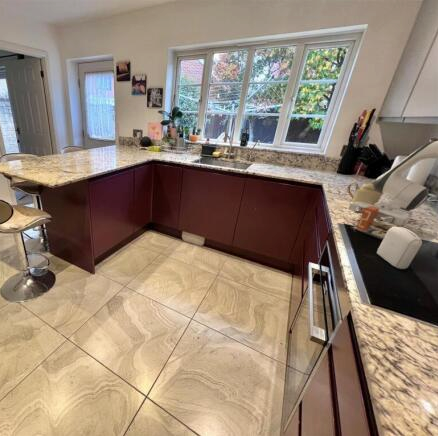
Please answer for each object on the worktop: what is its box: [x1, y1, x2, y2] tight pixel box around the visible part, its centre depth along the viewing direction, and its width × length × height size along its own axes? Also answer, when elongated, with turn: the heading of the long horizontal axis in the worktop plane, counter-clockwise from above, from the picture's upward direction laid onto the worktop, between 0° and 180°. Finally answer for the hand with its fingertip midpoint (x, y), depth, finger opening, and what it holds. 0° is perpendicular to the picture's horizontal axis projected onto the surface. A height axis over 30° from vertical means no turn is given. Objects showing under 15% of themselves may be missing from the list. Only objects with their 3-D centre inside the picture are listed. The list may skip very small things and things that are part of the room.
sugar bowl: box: [347, 179, 383, 205], centre depth 134 cm, size 15×11×15 cm
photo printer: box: [376, 226, 423, 270], centre depth 80 cm, size 10×4×12 cm, turn 169°
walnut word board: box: [356, 219, 393, 232], centre depth 106 cm, size 18×8×2 cm, turn 26°
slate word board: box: [350, 224, 387, 241], centre depth 99 cm, size 18×8×2 cm, turn 26°
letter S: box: [355, 206, 380, 231], centre depth 102 cm, size 3×5×10 cm, turn 115°
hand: (368, 215), depth 100 cm, fingers open, 8 cm apart
